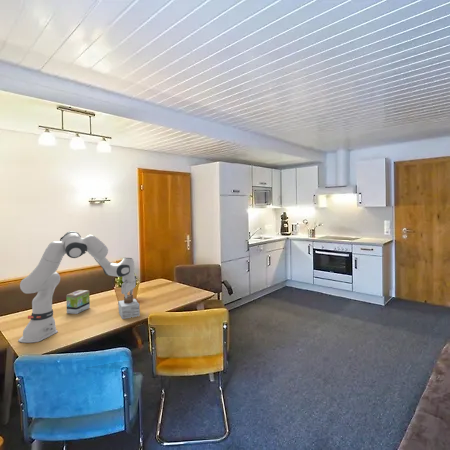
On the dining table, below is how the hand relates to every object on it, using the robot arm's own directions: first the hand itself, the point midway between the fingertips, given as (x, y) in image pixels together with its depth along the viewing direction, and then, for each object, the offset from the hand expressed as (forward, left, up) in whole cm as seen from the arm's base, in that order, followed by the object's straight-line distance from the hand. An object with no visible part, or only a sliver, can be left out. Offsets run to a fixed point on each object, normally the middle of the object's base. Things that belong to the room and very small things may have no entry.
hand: (128, 296), depth 228 cm
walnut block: (-1, 0, -4) cm, 4 cm away
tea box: (+6, +44, -14) cm, 46 cm away
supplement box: (-1, 0, -14) cm, 14 cm away
